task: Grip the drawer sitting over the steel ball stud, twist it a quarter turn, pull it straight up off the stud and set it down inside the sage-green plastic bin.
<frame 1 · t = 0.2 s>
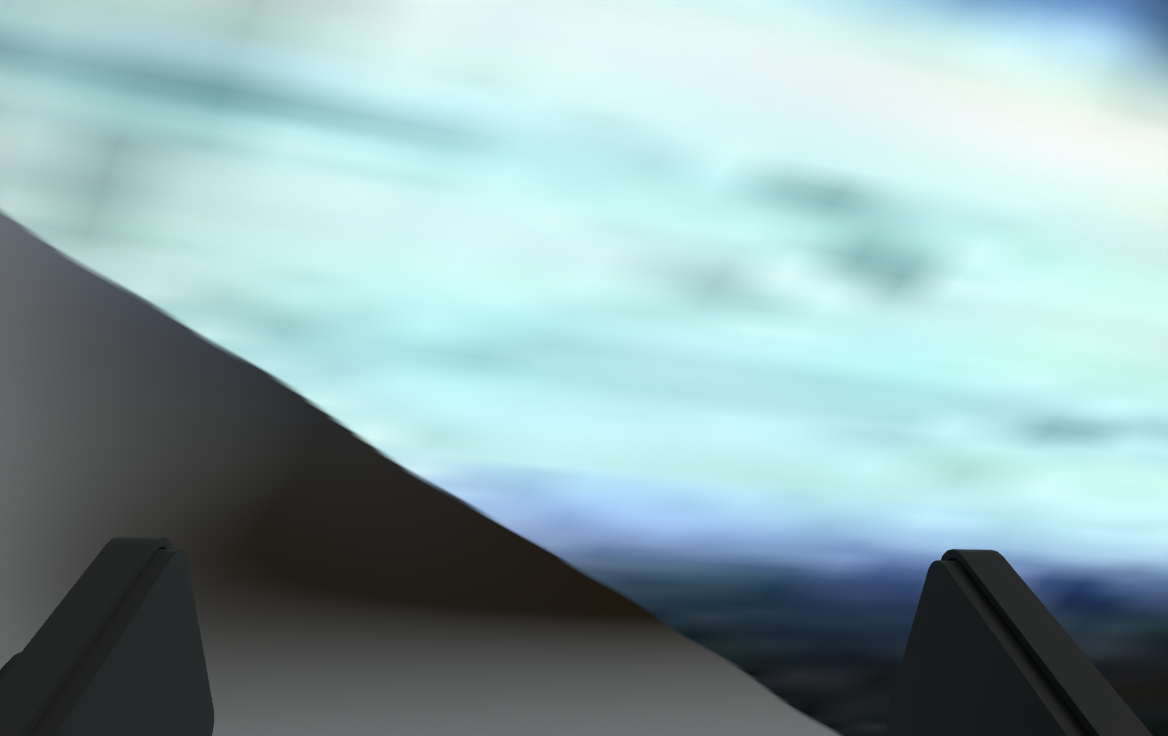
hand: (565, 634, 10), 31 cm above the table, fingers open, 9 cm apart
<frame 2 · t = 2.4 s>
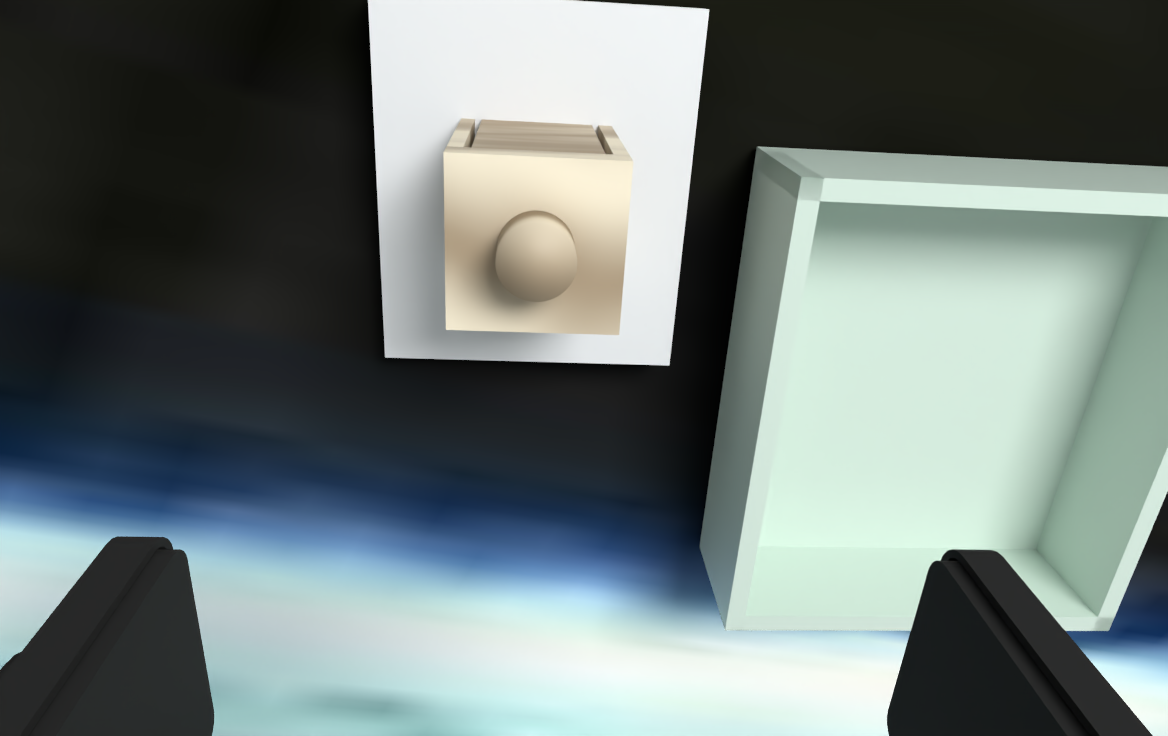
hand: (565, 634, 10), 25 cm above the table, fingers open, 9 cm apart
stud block: (534, 185, 33), on the table
bin: (913, 374, 38), on the table
drawer: (534, 196, 32), point 2 cm above the table, touching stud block
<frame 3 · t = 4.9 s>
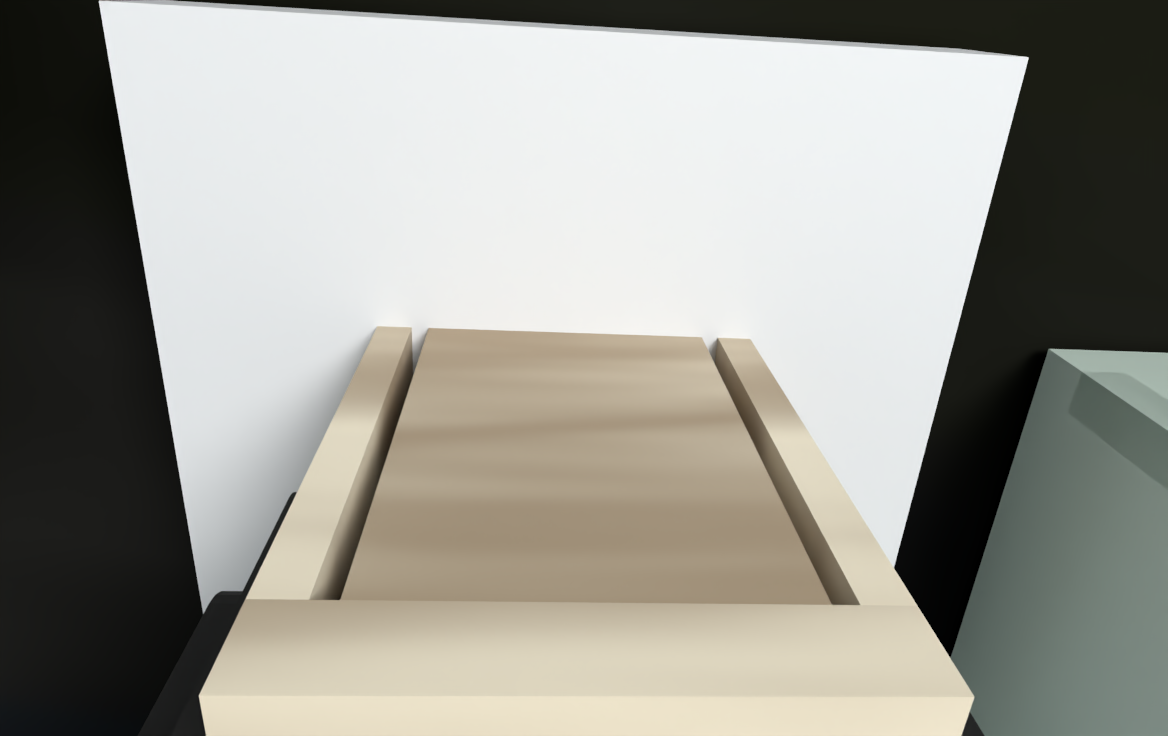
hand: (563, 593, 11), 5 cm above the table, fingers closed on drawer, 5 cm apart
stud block: (555, 431, 15), on the table
drawer: (558, 490, 13), point 2 cm above the table, touching gripper, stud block
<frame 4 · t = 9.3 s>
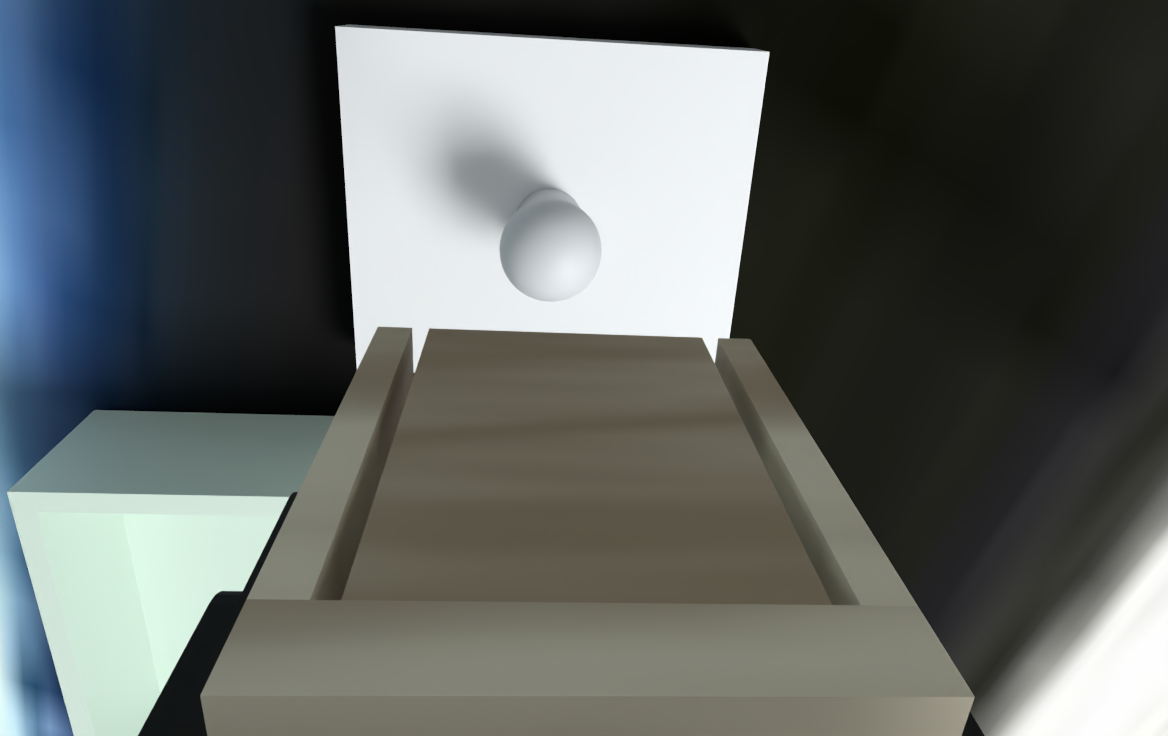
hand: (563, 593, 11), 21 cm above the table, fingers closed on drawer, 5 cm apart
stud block: (548, 209, 31), on the table
bin: (358, 590, 37), on the table
drawer: (558, 491, 13), point 19 cm above the table, touching gripper
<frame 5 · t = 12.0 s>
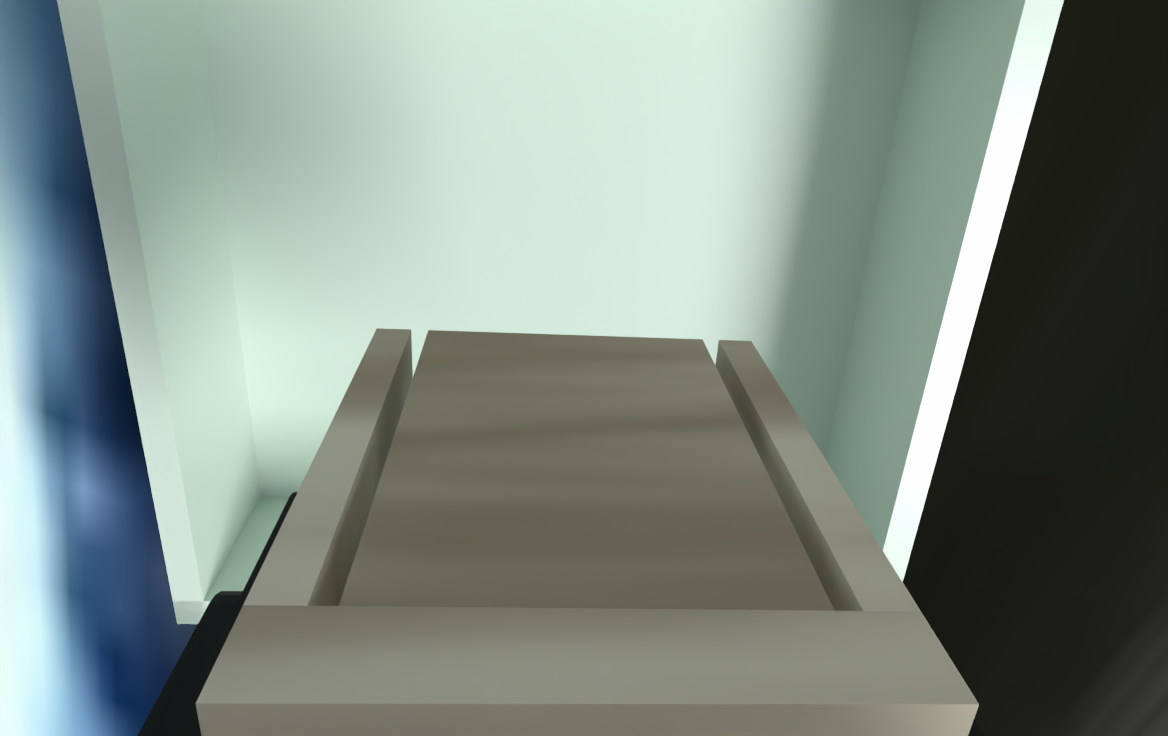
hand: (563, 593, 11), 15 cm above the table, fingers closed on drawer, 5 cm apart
bin: (554, 256, 25), on the table
drawer: (558, 493, 13), point 13 cm above the table, touching gripper
when the fingers open (5 cm above the table, at t = 14.2 s): drawer drops 1 cm, resting on bin.
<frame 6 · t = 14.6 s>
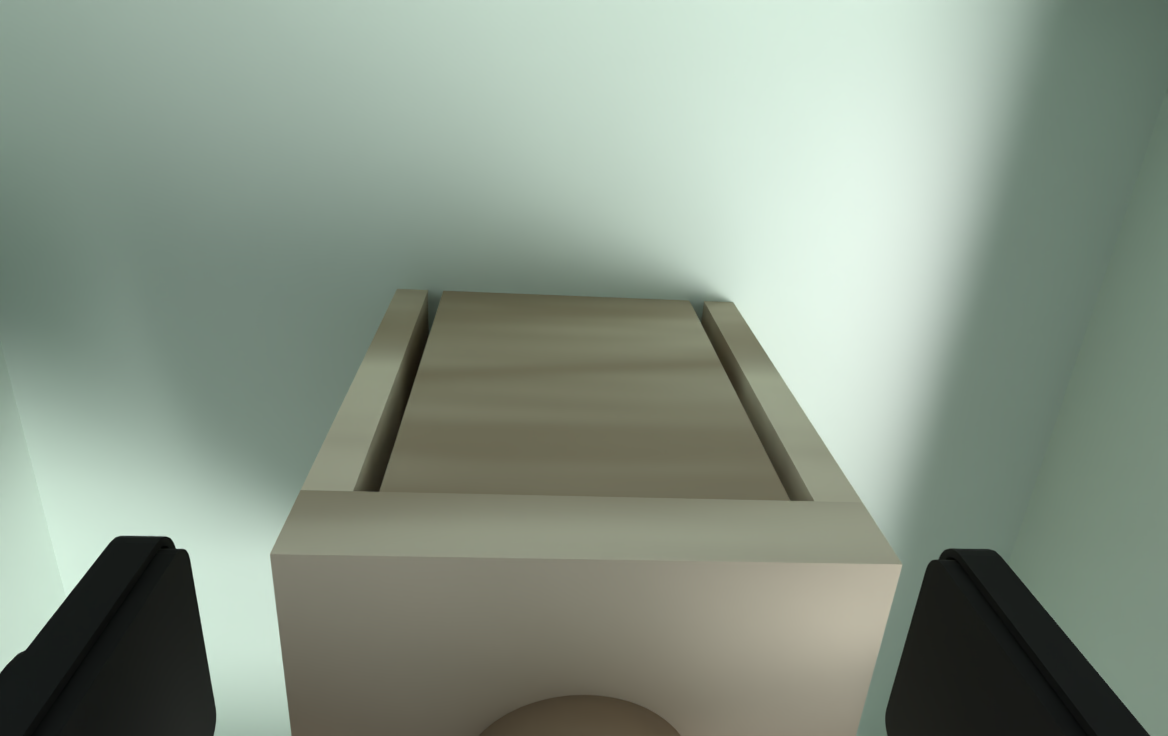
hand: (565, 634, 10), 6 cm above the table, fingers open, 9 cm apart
bin: (555, 419, 16), on the table
drawer: (559, 442, 15), point 1 cm above the table, touching bin
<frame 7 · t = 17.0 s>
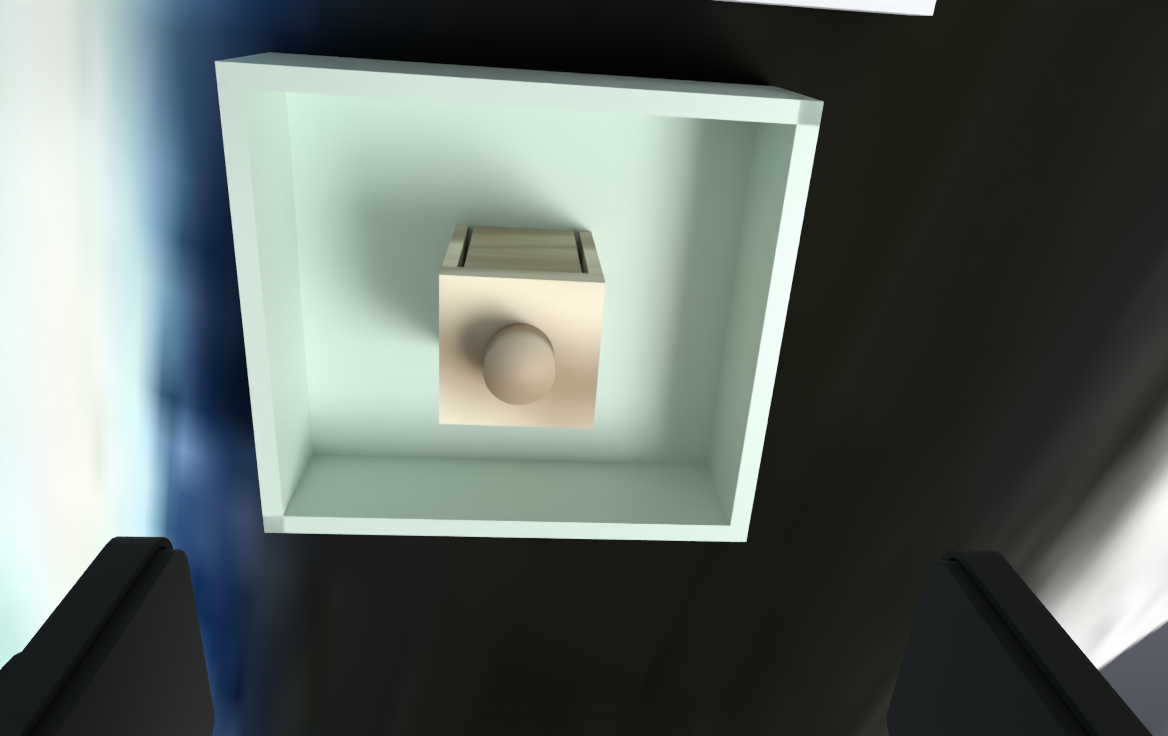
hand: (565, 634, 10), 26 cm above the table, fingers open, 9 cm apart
bin: (520, 286, 36), on the table
drawer: (521, 292, 35), point 1 cm above the table, touching bin
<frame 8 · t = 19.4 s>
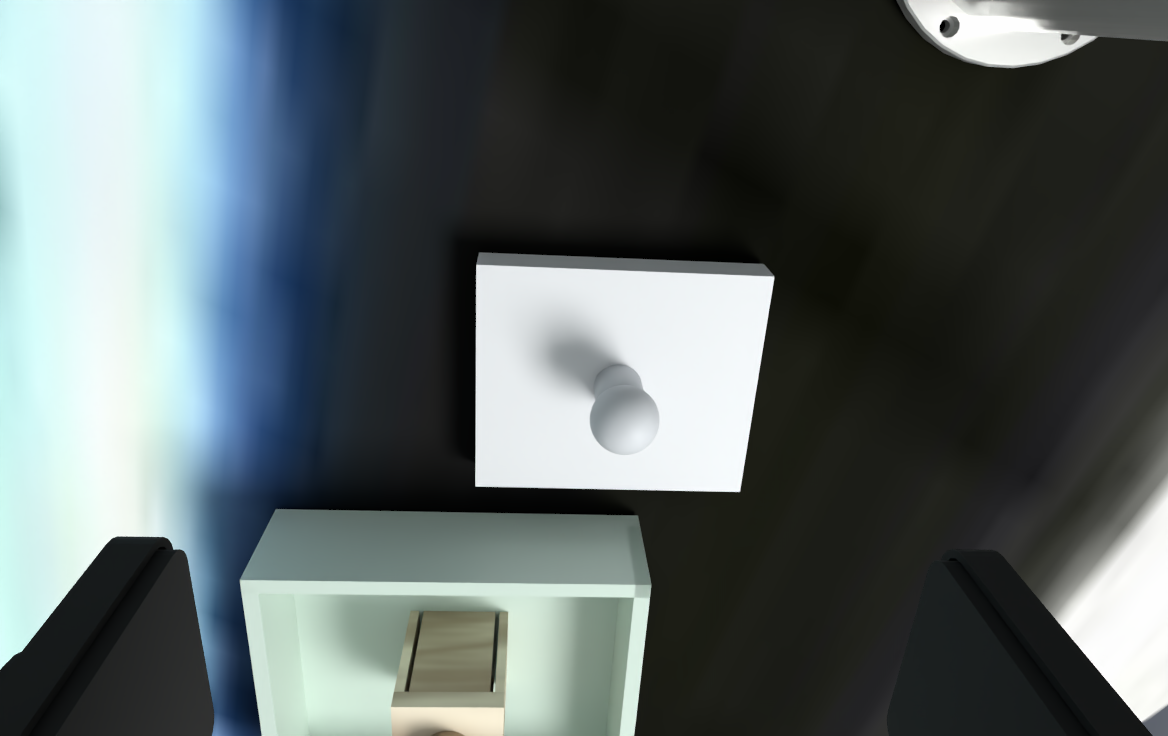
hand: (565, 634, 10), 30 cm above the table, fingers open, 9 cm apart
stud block: (614, 369, 42), on the table
bin: (460, 637, 49), on the table
drawer: (459, 648, 48), point 1 cm above the table, touching bin
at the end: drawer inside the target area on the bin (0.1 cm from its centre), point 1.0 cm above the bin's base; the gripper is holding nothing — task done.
